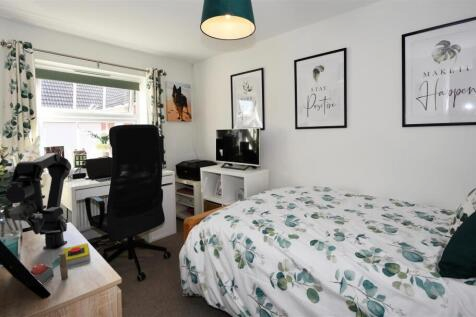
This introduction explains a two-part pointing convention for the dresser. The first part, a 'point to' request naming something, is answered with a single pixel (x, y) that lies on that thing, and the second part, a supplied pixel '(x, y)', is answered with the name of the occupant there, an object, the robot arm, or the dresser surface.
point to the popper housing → (45, 275)
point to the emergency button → (77, 255)
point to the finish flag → (61, 265)
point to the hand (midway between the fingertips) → (37, 234)
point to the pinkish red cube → (39, 269)
